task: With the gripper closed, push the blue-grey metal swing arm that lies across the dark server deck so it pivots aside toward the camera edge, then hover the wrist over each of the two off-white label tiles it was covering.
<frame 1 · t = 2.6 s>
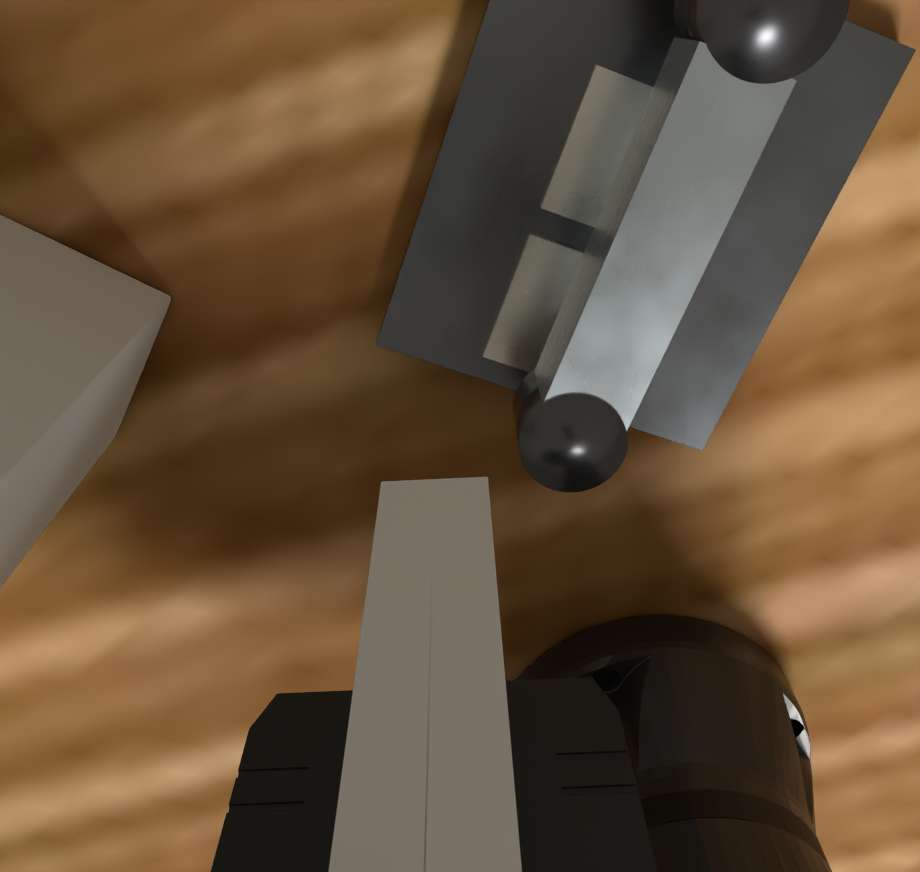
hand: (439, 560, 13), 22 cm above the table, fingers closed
milk carton: (59, 328, 35), on the table
deck: (621, 200, 33), on the table
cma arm: (653, 233, 28), point 5 cm above the table, hinge at 0.0°
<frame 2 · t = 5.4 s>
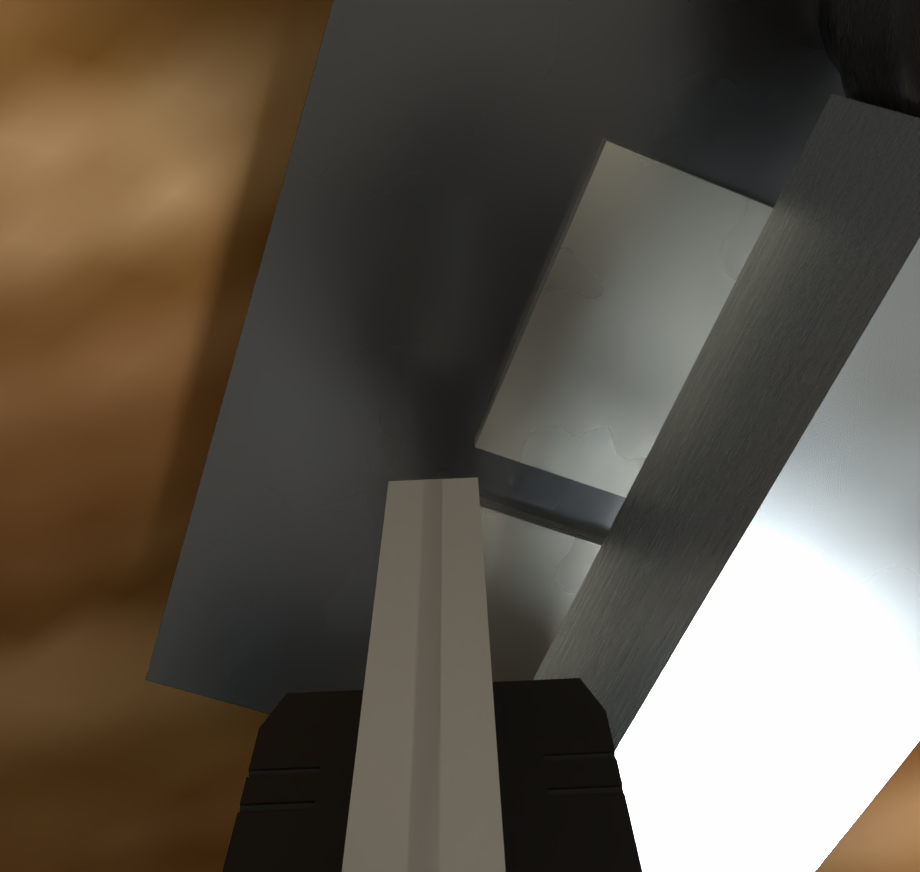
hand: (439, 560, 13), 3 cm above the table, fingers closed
deck: (653, 413, 15), on the table
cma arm: (756, 608, 10), point 6 cm above the table, hinge at 1.2°, touching gripper
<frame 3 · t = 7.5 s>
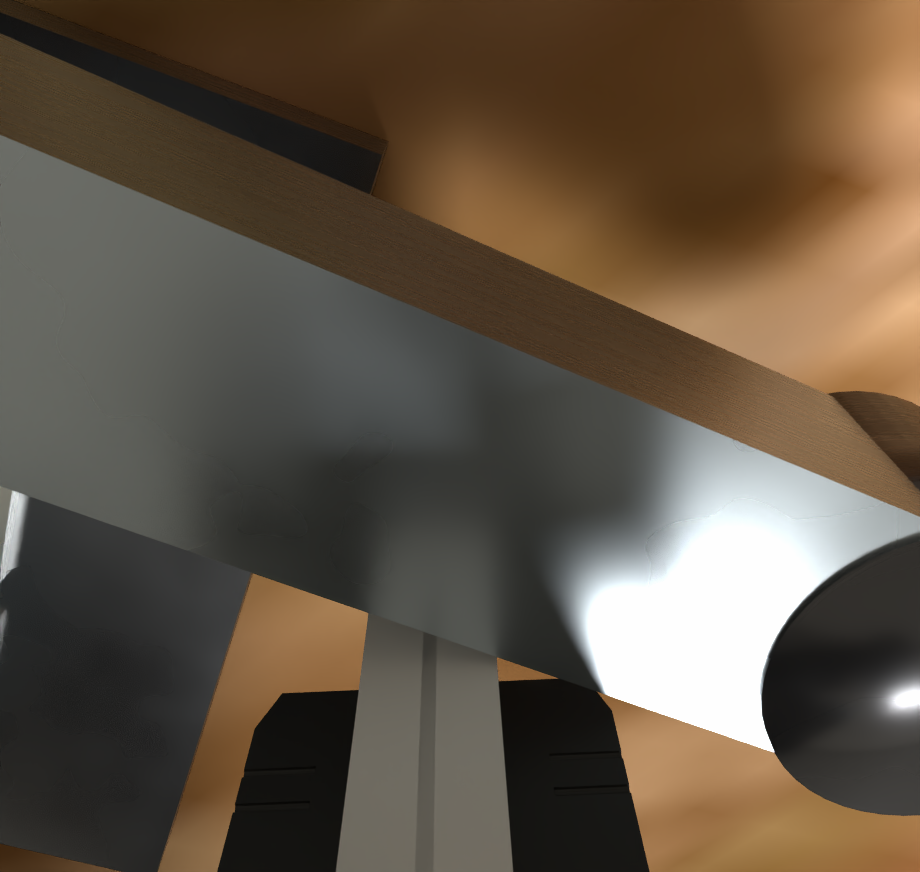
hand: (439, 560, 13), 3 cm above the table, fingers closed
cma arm: (293, 360, 9), point 5 cm above the table, hinge at 86.5°, touching gripper
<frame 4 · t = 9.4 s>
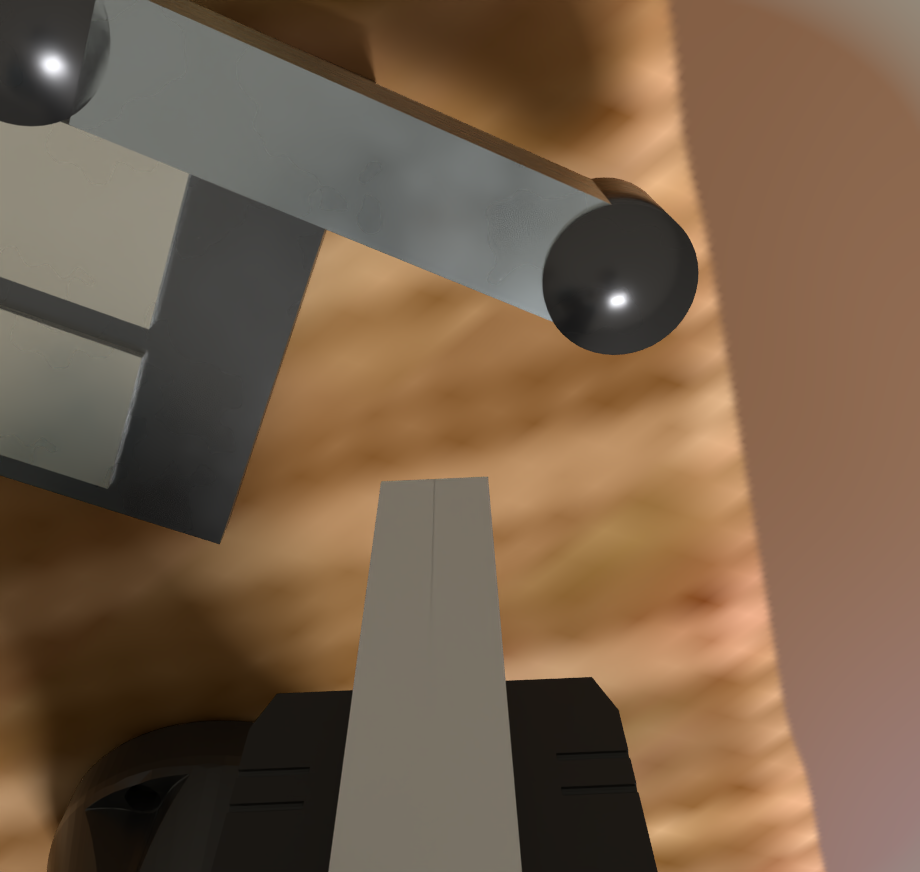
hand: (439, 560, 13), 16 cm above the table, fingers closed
deck: (74, 250, 27), on the table
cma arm: (338, 148, 20), point 6 cm above the table, hinge at 89.0°
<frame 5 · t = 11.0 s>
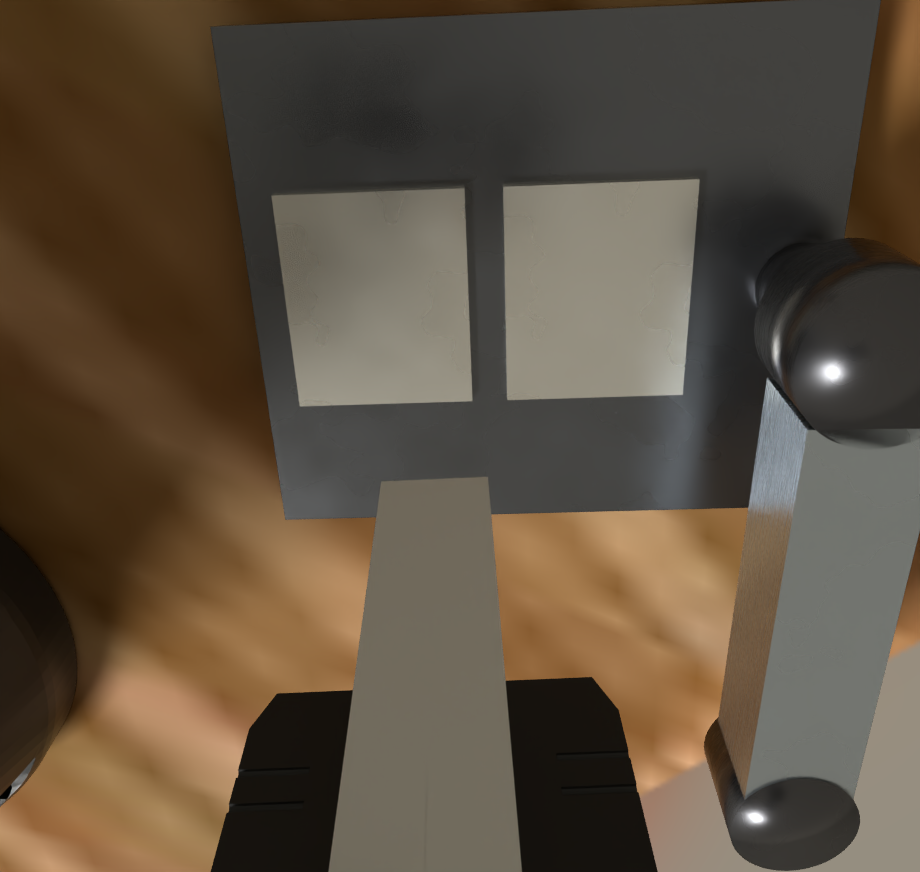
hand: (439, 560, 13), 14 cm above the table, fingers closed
deck: (538, 282, 25), on the table
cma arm: (814, 588, 23), point 5 cm above the table, hinge at 89.0°
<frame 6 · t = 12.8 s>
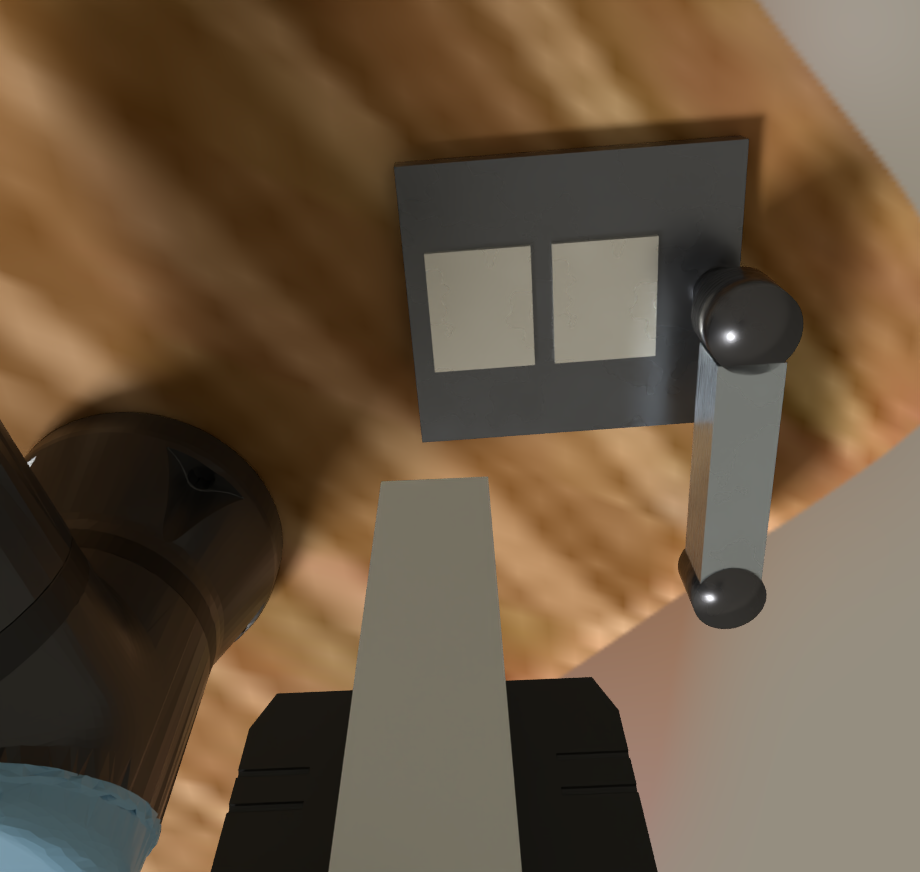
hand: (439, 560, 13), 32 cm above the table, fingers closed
deck: (570, 294, 44), on the table
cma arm: (732, 458, 42), point 5 cm above the table, hinge at 89.0°
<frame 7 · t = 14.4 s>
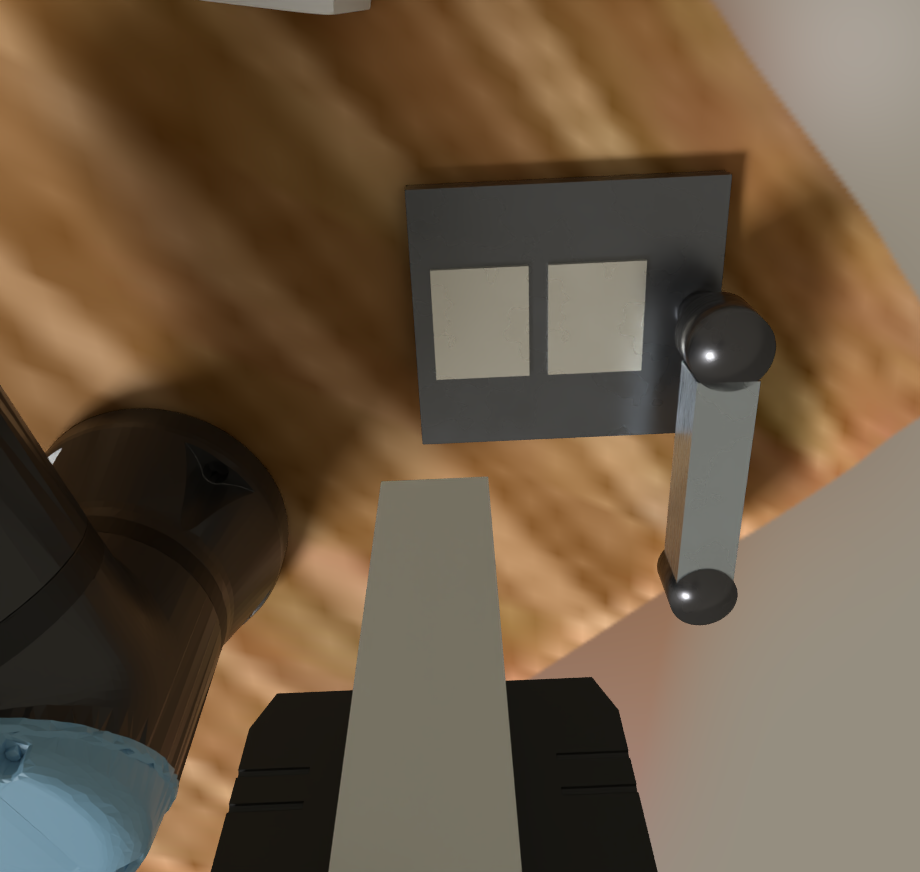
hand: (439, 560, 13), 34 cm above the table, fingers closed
deck: (563, 311, 47), on the table
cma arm: (709, 467, 45), point 6 cm above the table, hinge at 89.0°
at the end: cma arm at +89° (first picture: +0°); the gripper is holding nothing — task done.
